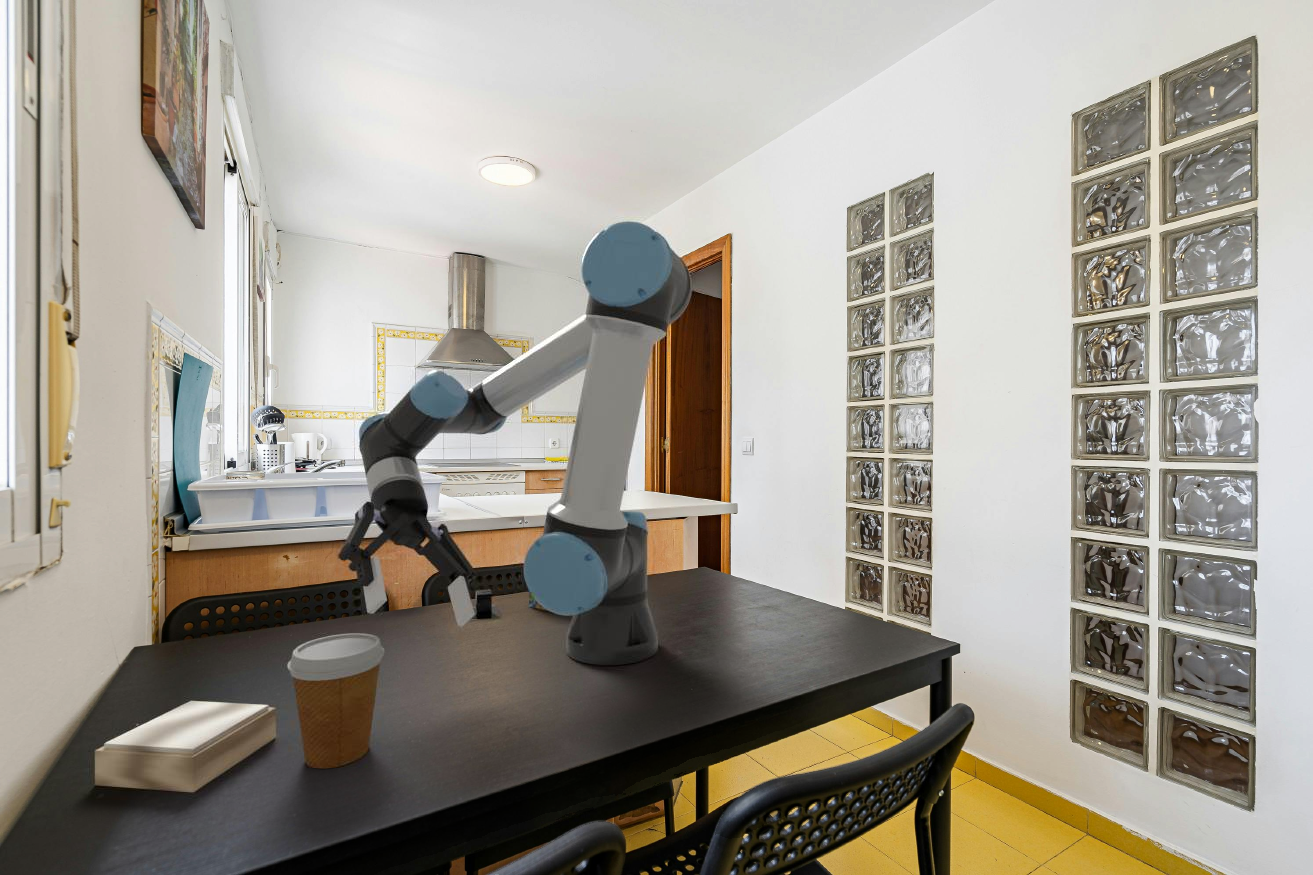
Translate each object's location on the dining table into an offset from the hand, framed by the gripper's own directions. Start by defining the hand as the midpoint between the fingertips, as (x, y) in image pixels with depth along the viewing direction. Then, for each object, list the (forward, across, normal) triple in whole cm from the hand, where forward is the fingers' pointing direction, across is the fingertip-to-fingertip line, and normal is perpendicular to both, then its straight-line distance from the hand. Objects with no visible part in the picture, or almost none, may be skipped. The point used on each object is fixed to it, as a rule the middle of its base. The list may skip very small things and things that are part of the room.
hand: (424, 614), depth 78 cm
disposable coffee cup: (+12, +7, -10) cm, 17 cm away
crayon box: (-17, -44, -13) cm, 49 cm away
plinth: (+7, +16, -21) cm, 27 cm away
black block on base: (-20, -35, -22) cm, 46 cm away
